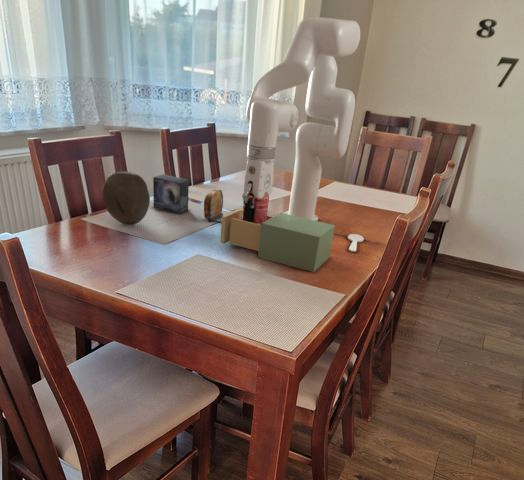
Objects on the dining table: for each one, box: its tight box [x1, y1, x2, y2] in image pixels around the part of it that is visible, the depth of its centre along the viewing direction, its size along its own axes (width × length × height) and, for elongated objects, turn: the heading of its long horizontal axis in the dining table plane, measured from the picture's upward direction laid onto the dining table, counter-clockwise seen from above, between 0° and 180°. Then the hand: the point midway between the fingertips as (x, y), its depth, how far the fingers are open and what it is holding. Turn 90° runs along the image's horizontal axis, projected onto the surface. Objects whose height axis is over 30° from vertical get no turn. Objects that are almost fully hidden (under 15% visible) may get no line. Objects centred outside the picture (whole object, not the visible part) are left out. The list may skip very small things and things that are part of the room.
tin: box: [203, 189, 224, 220], centre depth 161 cm, size 15×3×8 cm, turn 168°
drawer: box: [206, 207, 274, 252], centre depth 140 cm, size 22×13×8 cm, turn 65°
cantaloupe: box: [102, 171, 151, 226], centre depth 144 cm, size 14×14×15 cm
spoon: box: [347, 233, 365, 253], centre depth 155 cm, size 5×18×1 cm, turn 166°
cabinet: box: [257, 212, 336, 273], centre depth 135 cm, size 17×14×10 cm
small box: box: [152, 173, 190, 215], centre depth 163 cm, size 11×6×10 cm, turn 68°
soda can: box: [242, 192, 270, 225], centre depth 136 cm, size 7×7×13 cm
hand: (254, 218), depth 137 cm, fingers closed on soda can, 7 cm apart
